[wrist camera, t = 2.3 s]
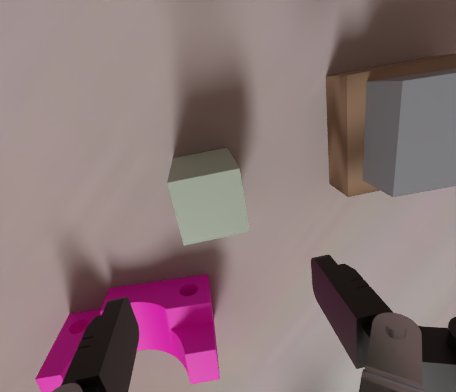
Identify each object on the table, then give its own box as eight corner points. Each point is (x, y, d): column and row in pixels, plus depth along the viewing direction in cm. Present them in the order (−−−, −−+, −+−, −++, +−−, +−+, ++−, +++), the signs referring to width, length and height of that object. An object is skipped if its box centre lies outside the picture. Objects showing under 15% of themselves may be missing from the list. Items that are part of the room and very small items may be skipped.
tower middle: (366, 81, 22) (402, 81, 18) (464, 66, 22) (519, 63, 19) (362, 180, 25) (392, 197, 21) (449, 165, 25) (493, 179, 22)
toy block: (207, 273, 31) (212, 327, 24) (213, 317, 33) (219, 379, 26) (63, 293, 30) (24, 357, 23) (79, 338, 32) (49, 408, 25)
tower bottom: (323, 76, 25) (346, 75, 22) (431, 56, 26) (471, 51, 22) (327, 182, 29) (348, 197, 25) (421, 163, 30) (455, 174, 26)
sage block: (172, 158, 26) (167, 182, 19) (227, 147, 26) (239, 168, 20) (185, 207, 28) (183, 245, 21) (236, 197, 28) (249, 231, 22)
